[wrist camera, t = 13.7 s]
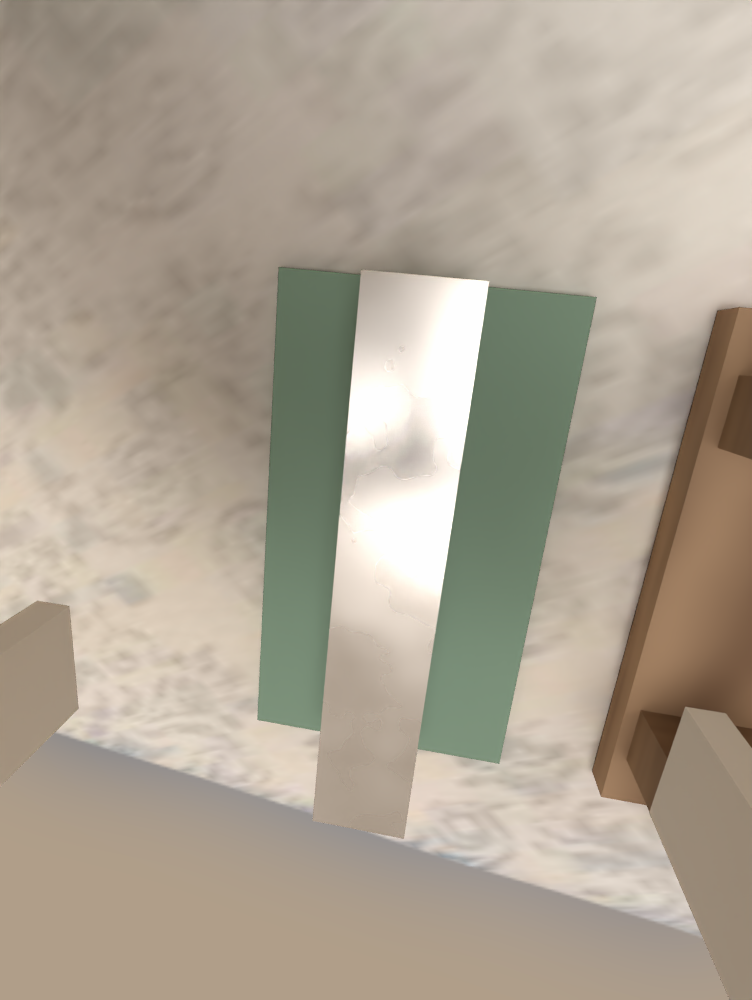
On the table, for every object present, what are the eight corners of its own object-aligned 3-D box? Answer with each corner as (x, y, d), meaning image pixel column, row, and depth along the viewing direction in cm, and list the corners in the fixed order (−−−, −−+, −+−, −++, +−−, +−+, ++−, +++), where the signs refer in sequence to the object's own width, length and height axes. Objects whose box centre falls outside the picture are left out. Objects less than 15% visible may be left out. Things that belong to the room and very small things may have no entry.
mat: (261, 712, 27) (257, 719, 26) (283, 269, 21) (278, 267, 20) (498, 754, 25) (499, 763, 25) (592, 299, 20) (596, 297, 19)
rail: (339, 726, 26) (312, 820, 20) (383, 291, 20) (361, 269, 15) (412, 739, 25) (403, 838, 20) (477, 300, 20) (488, 281, 14)
